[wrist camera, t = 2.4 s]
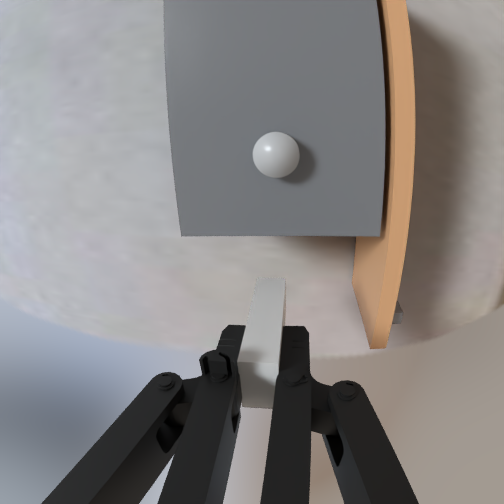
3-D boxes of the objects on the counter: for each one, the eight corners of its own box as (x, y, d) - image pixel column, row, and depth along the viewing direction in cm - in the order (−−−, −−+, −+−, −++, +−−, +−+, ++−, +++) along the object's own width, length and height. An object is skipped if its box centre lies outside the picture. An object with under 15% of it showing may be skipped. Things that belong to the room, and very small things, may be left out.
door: (347, -19, 15) (368, -73, 8) (375, -16, 15) (407, -65, 7) (350, 282, 24) (368, 349, 17) (375, 282, 24) (400, 347, 17)
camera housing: (204, -26, 16) (160, -80, 8) (340, -32, 15) (359, -94, 7) (216, 197, 23) (176, 242, 15) (352, 196, 22) (383, 242, 14)
